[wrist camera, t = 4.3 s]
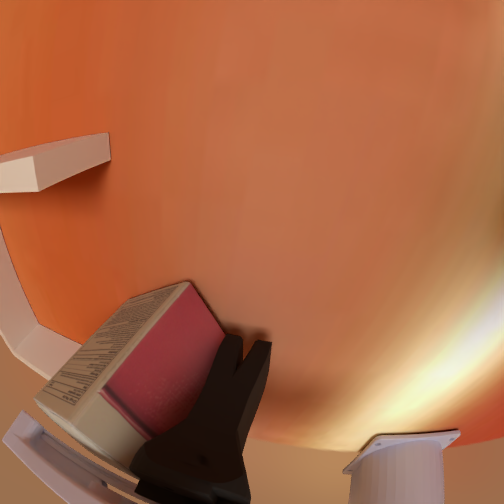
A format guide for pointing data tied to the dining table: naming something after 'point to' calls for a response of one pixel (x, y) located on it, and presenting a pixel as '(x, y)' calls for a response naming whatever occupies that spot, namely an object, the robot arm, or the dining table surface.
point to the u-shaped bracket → (3, 273)
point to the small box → (135, 374)
